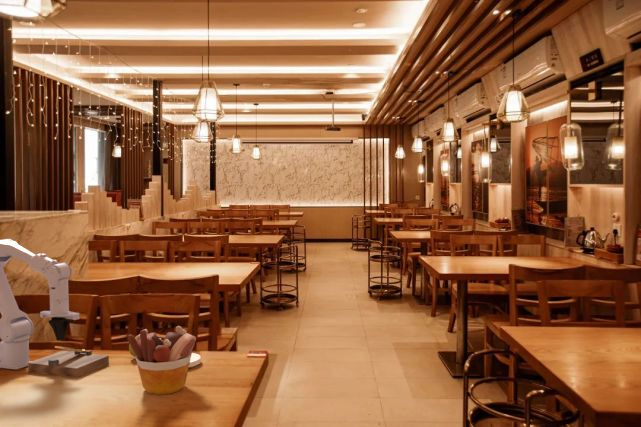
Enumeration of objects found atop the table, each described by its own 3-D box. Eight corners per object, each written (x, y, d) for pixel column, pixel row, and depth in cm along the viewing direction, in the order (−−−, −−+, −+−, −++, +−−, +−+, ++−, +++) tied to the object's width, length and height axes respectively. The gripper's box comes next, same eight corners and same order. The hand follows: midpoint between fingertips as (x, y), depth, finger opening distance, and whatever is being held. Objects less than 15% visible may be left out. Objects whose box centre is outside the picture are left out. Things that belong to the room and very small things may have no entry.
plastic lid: (186, 357, 202) (186, 350, 202) (209, 365, 192) (208, 357, 192) (151, 365, 192) (151, 358, 192) (172, 374, 182) (172, 367, 182)
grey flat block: (28, 371, 185) (28, 358, 185) (62, 359, 199) (62, 346, 199) (76, 377, 179) (76, 363, 178) (108, 364, 193) (108, 350, 193)
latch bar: (54, 348, 185) (55, 345, 185) (80, 352, 196) (80, 350, 196) (61, 349, 184) (62, 346, 184) (87, 353, 195) (87, 350, 195)
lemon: (140, 360, 196) (140, 338, 196) (126, 360, 198) (125, 337, 197) (148, 356, 202) (148, 334, 202) (134, 355, 203) (134, 333, 203)
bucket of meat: (164, 376, 180) (163, 314, 179) (206, 383, 173) (205, 319, 172) (117, 396, 162) (116, 328, 161) (161, 405, 154) (160, 334, 154)
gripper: (32, 300, 185) (33, 341, 185) (67, 302, 181) (69, 344, 181) (49, 297, 192) (50, 336, 192) (83, 298, 187) (84, 338, 188)
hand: (60, 339), depth 187 cm, fingers closed
